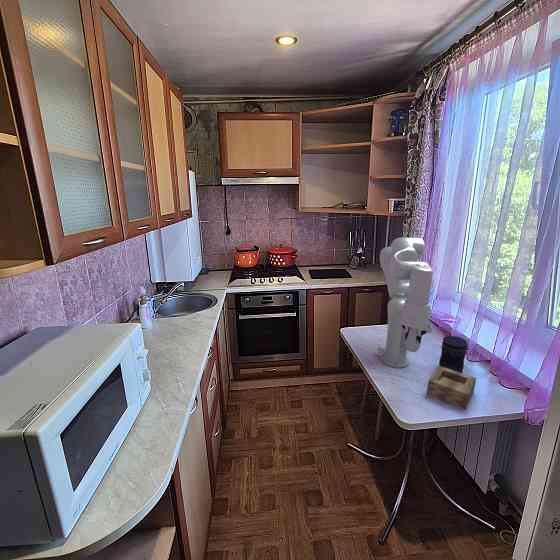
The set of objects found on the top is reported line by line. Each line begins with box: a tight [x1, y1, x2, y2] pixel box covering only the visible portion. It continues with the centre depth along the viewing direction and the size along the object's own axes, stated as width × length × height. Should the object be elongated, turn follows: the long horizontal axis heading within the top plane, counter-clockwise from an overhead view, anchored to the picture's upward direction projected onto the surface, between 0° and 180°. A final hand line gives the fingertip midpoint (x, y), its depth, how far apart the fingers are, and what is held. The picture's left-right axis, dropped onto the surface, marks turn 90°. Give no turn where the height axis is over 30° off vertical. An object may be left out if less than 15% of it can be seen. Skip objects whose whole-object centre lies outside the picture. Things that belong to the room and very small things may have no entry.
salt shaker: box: [405, 328, 422, 353], centre depth 126 cm, size 6×6×13 cm
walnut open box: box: [426, 365, 477, 411], centre depth 129 cm, size 14×14×7 cm
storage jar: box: [438, 335, 469, 374], centre depth 144 cm, size 10×10×15 cm
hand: (412, 342), depth 127 cm, fingers closed on salt shaker, 3 cm apart
